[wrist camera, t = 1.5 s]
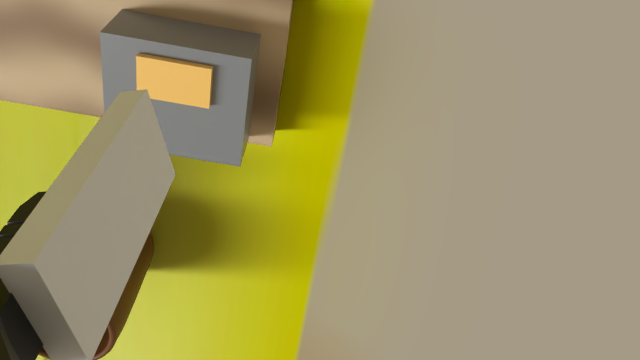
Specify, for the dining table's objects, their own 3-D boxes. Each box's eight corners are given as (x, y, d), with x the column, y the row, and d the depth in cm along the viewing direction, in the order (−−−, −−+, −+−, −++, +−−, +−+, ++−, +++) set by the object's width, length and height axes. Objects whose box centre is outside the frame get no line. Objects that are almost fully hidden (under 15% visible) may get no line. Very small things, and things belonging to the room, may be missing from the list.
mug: (47, 141, 42) (-24, 226, 34) (154, 157, 42) (108, 246, 34) (65, 263, 48) (10, 357, 41) (157, 276, 49) (119, 372, 41)
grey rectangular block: (249, 136, 38) (239, 170, 35) (125, 115, 38) (103, 147, 34) (260, 34, 34) (250, 62, 31) (121, 9, 33) (97, 34, 30)
